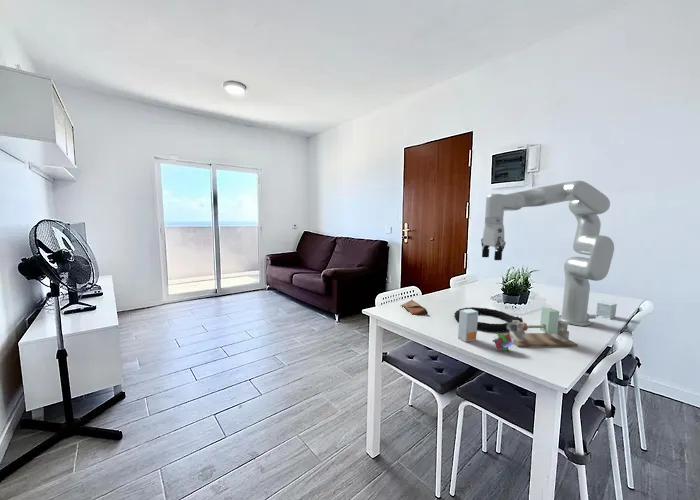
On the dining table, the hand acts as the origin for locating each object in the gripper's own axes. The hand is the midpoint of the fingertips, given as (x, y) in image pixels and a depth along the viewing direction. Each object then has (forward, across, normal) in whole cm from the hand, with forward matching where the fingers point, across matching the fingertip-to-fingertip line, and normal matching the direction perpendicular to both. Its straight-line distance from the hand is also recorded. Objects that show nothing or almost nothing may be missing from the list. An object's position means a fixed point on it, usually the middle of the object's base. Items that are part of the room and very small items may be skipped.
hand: (491, 258), depth 136 cm
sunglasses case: (+31, +21, +29) cm, 48 cm away
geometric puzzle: (+31, -28, +11) cm, 43 cm away
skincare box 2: (+31, +4, -67) cm, 74 cm away
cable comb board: (+31, -22, -9) cm, 38 cm away
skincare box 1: (+31, -18, +20) cm, 41 cm away
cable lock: (+31, +1, -1) cm, 31 cm away
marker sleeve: (+27, -22, -13) cm, 37 cm away
